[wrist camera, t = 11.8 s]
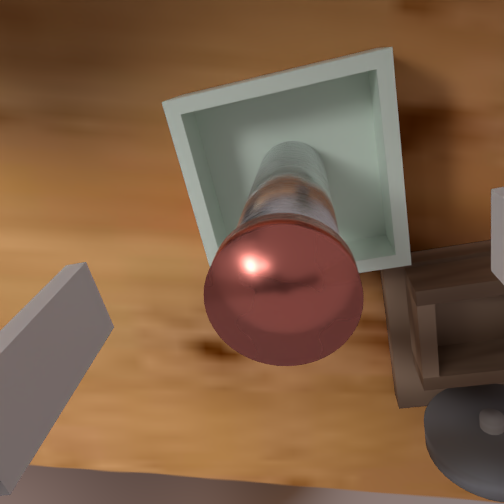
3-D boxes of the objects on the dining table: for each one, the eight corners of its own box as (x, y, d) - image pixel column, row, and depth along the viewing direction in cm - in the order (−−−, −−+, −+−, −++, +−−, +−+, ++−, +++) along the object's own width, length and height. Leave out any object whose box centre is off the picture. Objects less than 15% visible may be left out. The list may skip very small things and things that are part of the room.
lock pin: (246, 144, 26) (184, 242, 12) (323, 128, 25) (352, 213, 11) (262, 216, 28) (225, 373, 14) (335, 203, 27) (372, 356, 13)
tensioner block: (378, 257, 29) (412, 342, 21) (540, 232, 27) (651, 314, 19) (395, 400, 34) (429, 517, 26) (533, 386, 32) (619, 507, 24)
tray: (180, 95, 26) (161, 102, 22) (378, 47, 24) (392, 46, 20) (227, 265, 31) (217, 294, 27) (396, 237, 29) (411, 265, 25)
